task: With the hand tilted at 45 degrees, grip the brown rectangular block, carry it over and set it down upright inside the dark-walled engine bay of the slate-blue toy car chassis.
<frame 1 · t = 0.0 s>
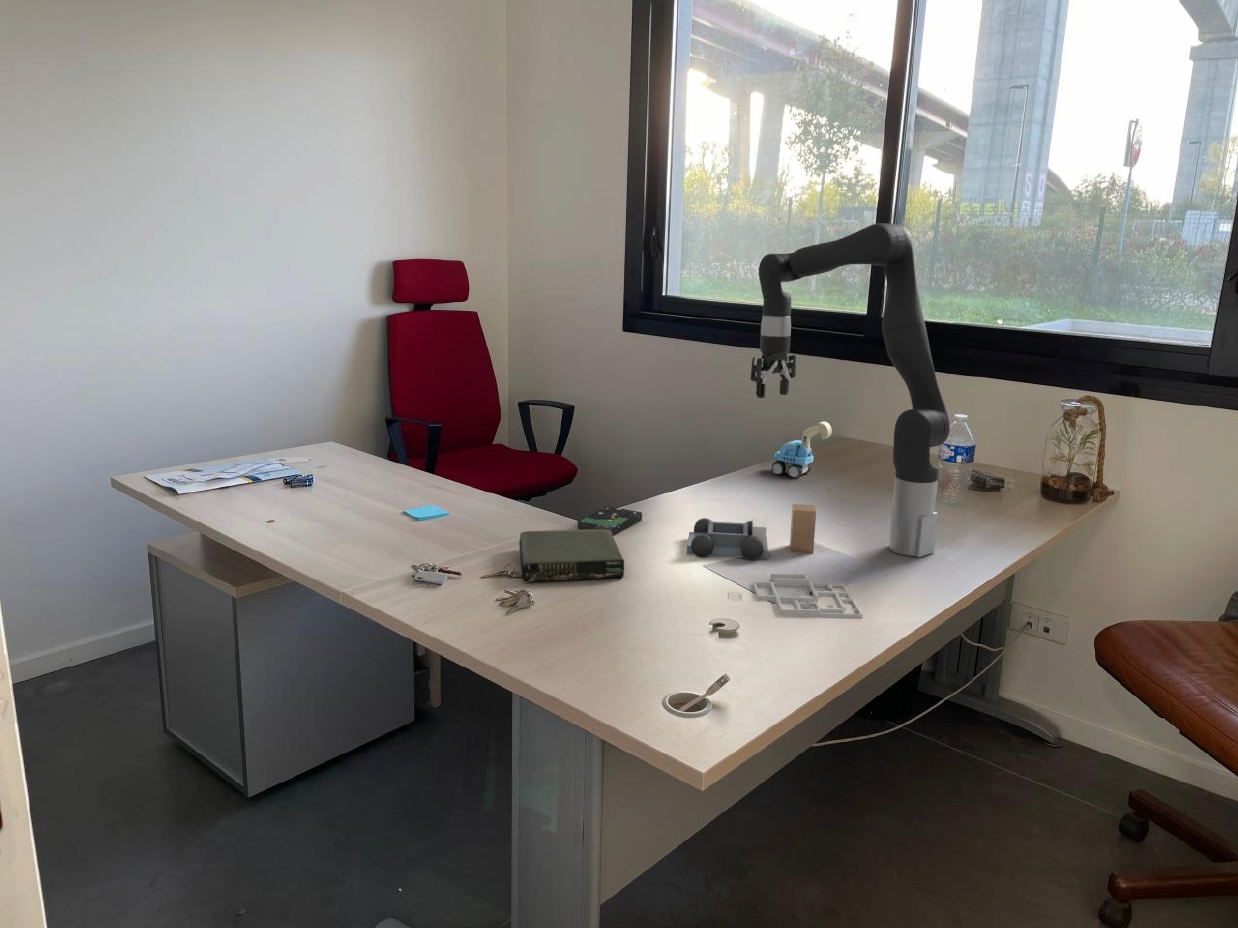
hand: (772, 396, 240), 29 cm above the table, tool pointing down, fingers open, 8 cm apart
chassis: (727, 548, 212), on the table
network switch: (569, 566, 201), on the table
brown rectangular block: (801, 549, 213), on the table
disk drive: (610, 527, 229), on the table
floor plan model: (788, 600, 185), on the table
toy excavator: (799, 476, 277), on the table
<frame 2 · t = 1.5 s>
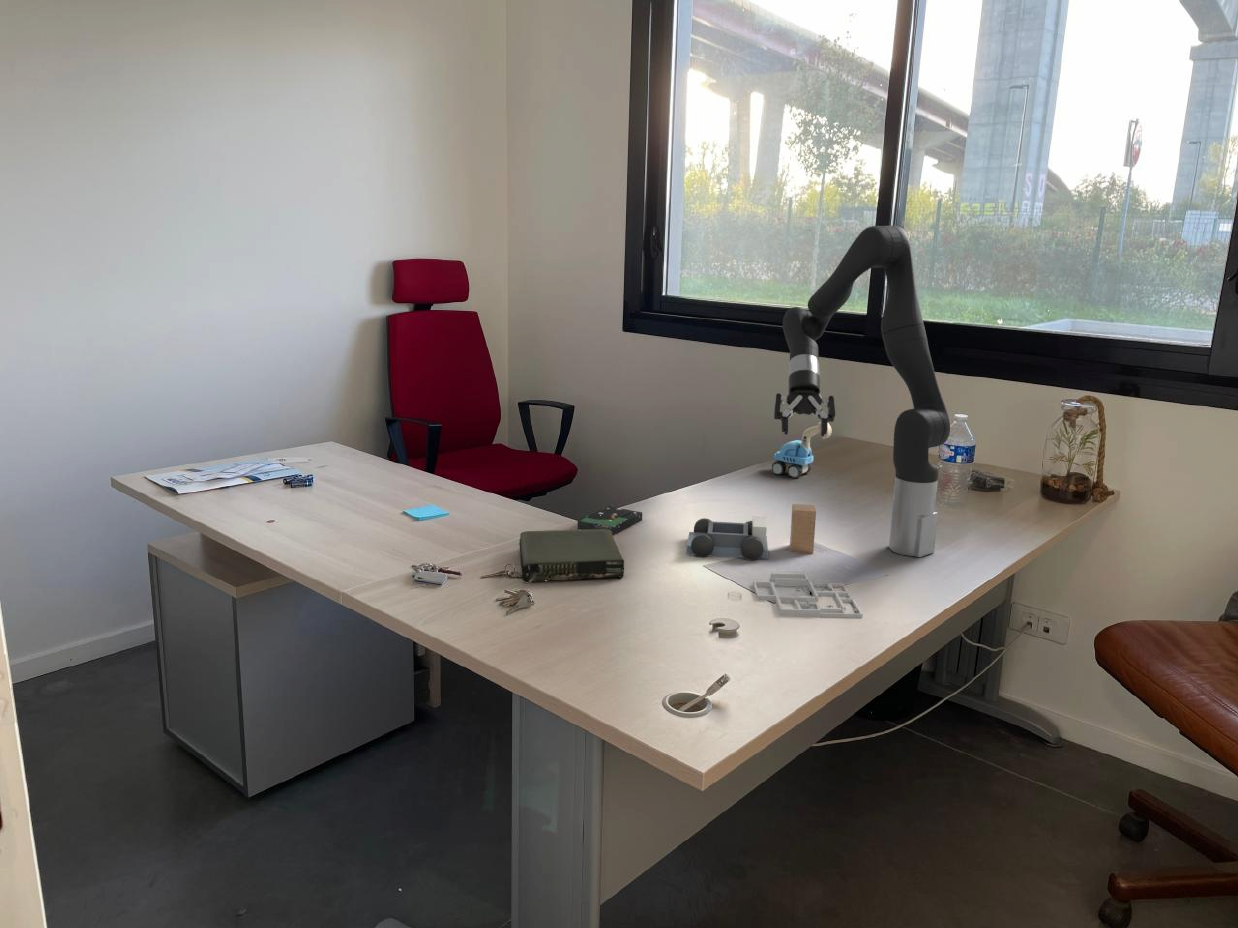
hand: (804, 433, 218), 25 cm above the table, tool tilted 45°, fingers open, 8 cm apart
nothing on the table moved.
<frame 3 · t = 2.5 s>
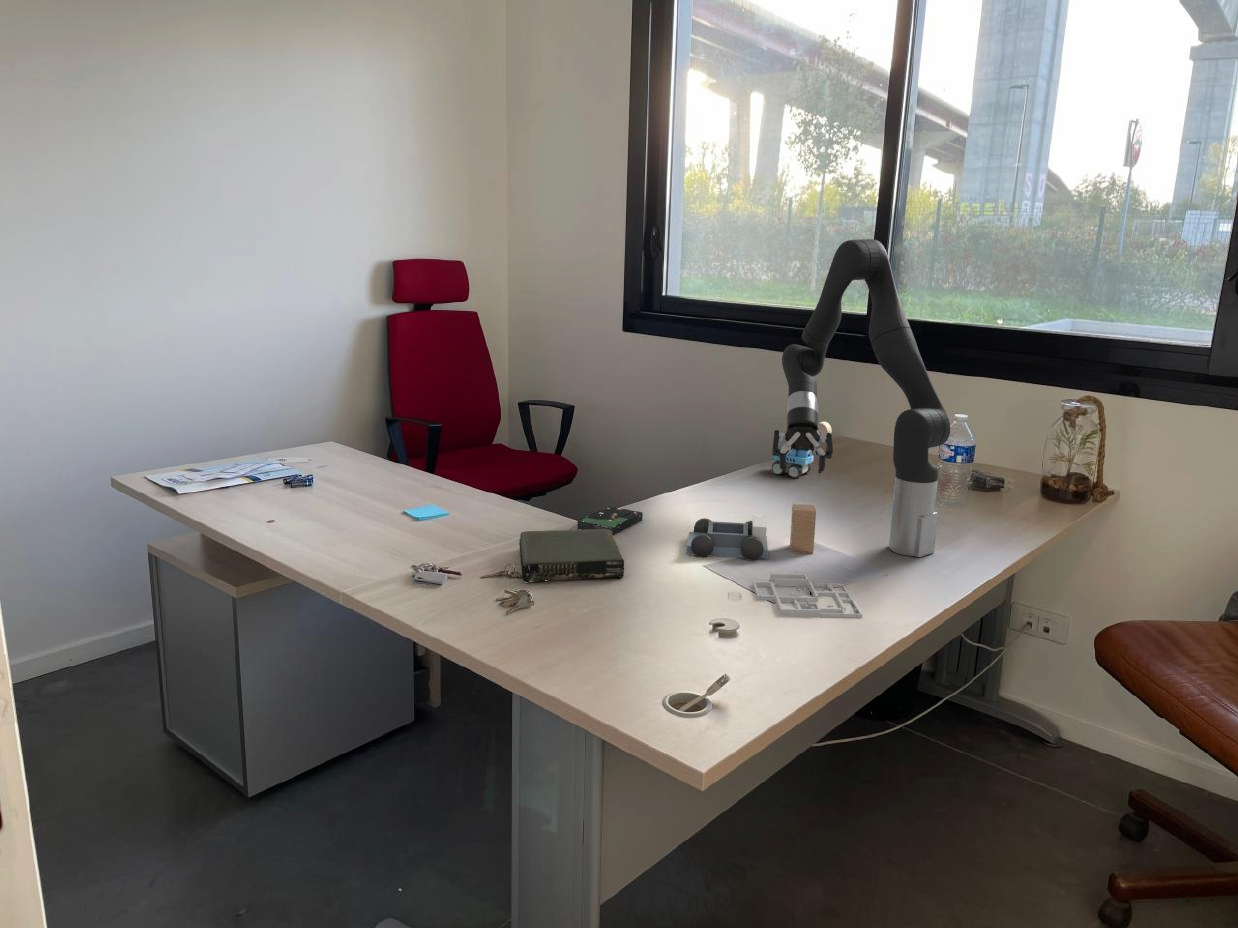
hand: (802, 470, 220), 16 cm above the table, tool tilted 45°, fingers open, 8 cm apart
nothing on the table moved.
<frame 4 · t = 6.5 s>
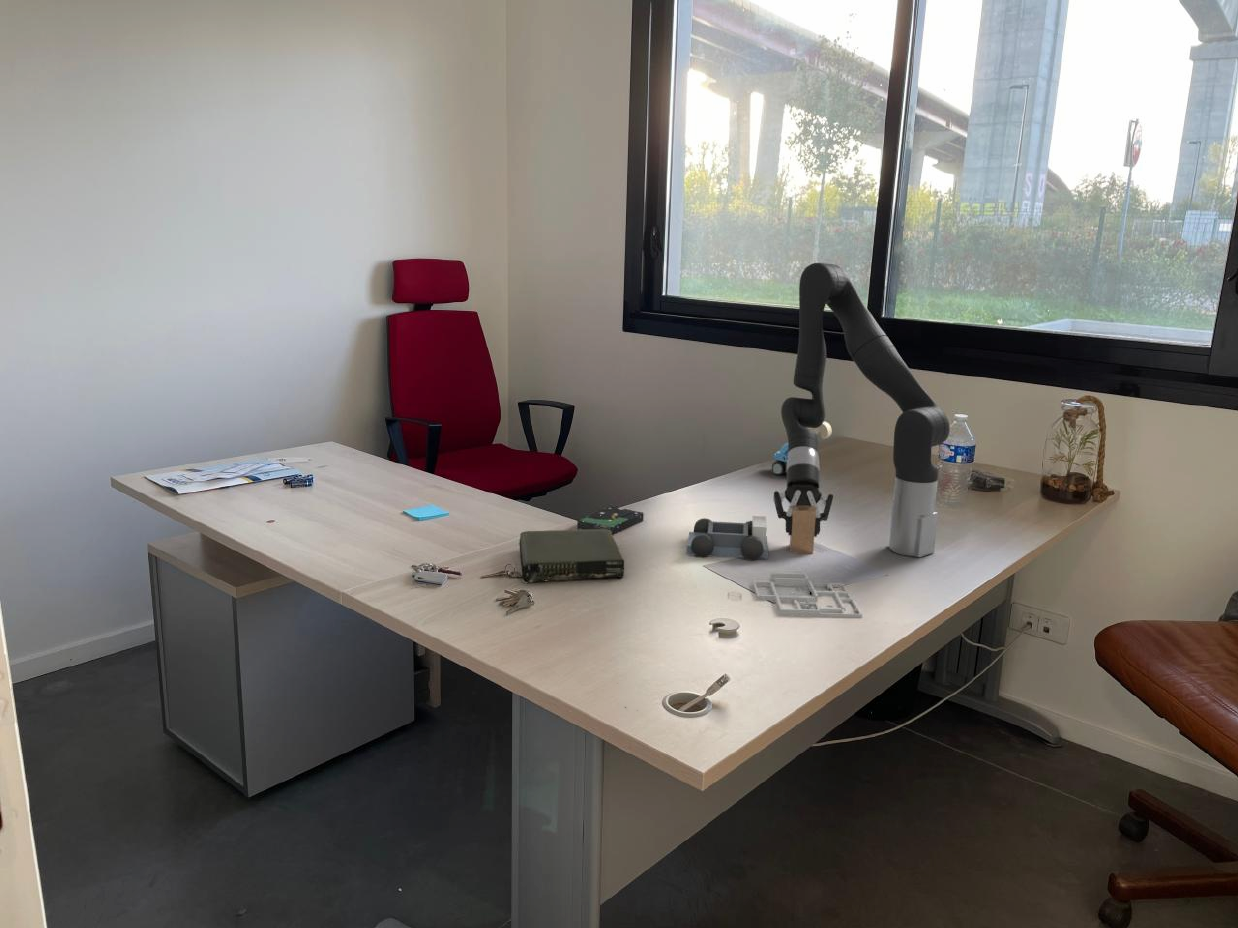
hand: (802, 534, 210), 4 cm above the table, tool tilted 45°, fingers closed on brown rectangular block, 5 cm apart
brown rectangular block: (801, 549, 213), on the table, touching gripper
everything else where it was.
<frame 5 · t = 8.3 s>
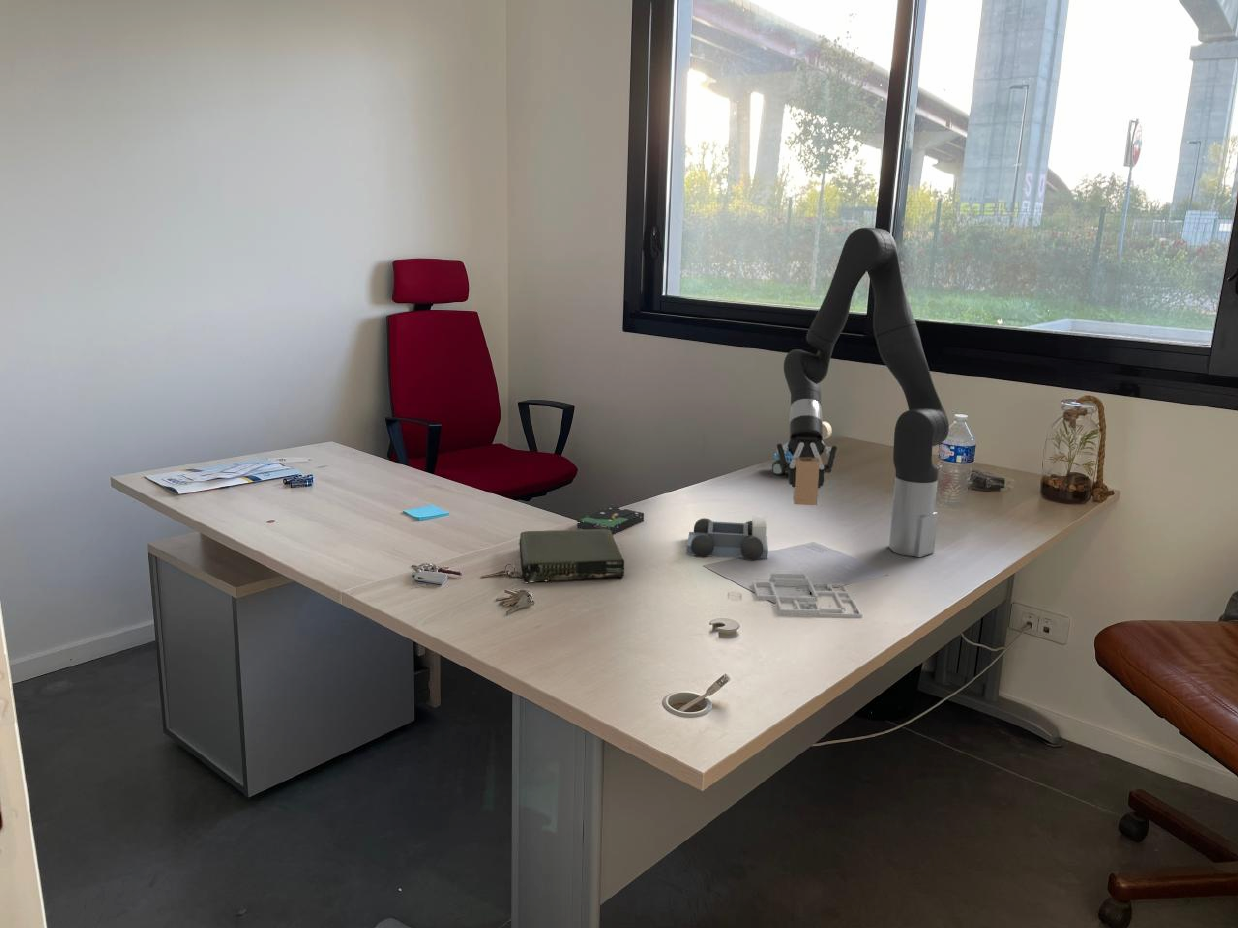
hand: (806, 485, 207), 16 cm above the table, tool tilted 45°, fingers closed on brown rectangular block, 5 cm apart
brown rectangular block: (805, 501, 210), point 11 cm above the table, touching gripper
everything else where it was.
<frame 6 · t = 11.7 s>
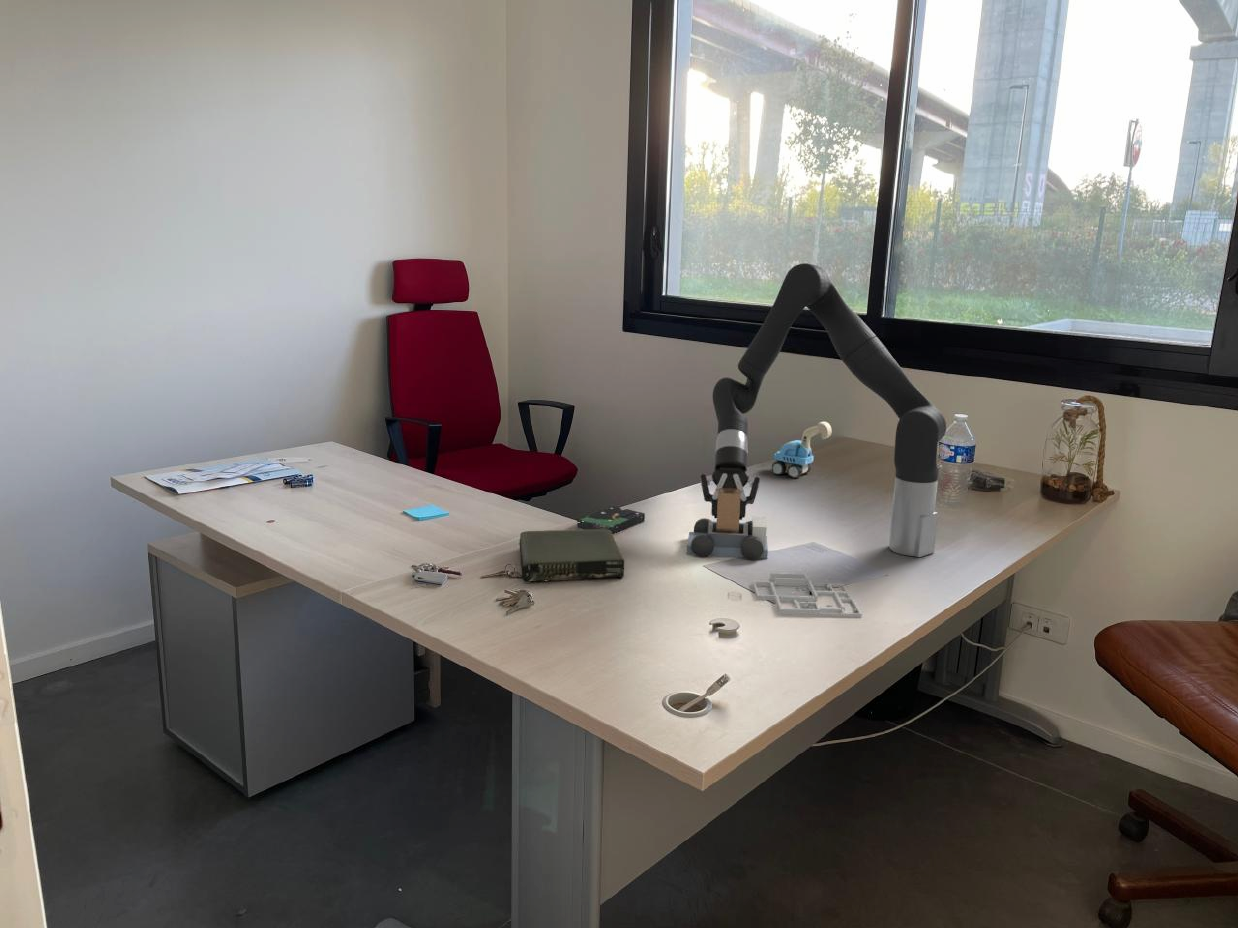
hand: (728, 517, 208), 8 cm above the table, tool tilted 45°, fingers closed on brown rectangular block, 5 cm apart
brown rectangular block: (727, 532, 211), point 4 cm above the table, touching gripper
everything else where it was.
when the fingers open (8 cm above the table, at t = 12.3 s): brown rectangular block drops 1 cm, resting on chassis.
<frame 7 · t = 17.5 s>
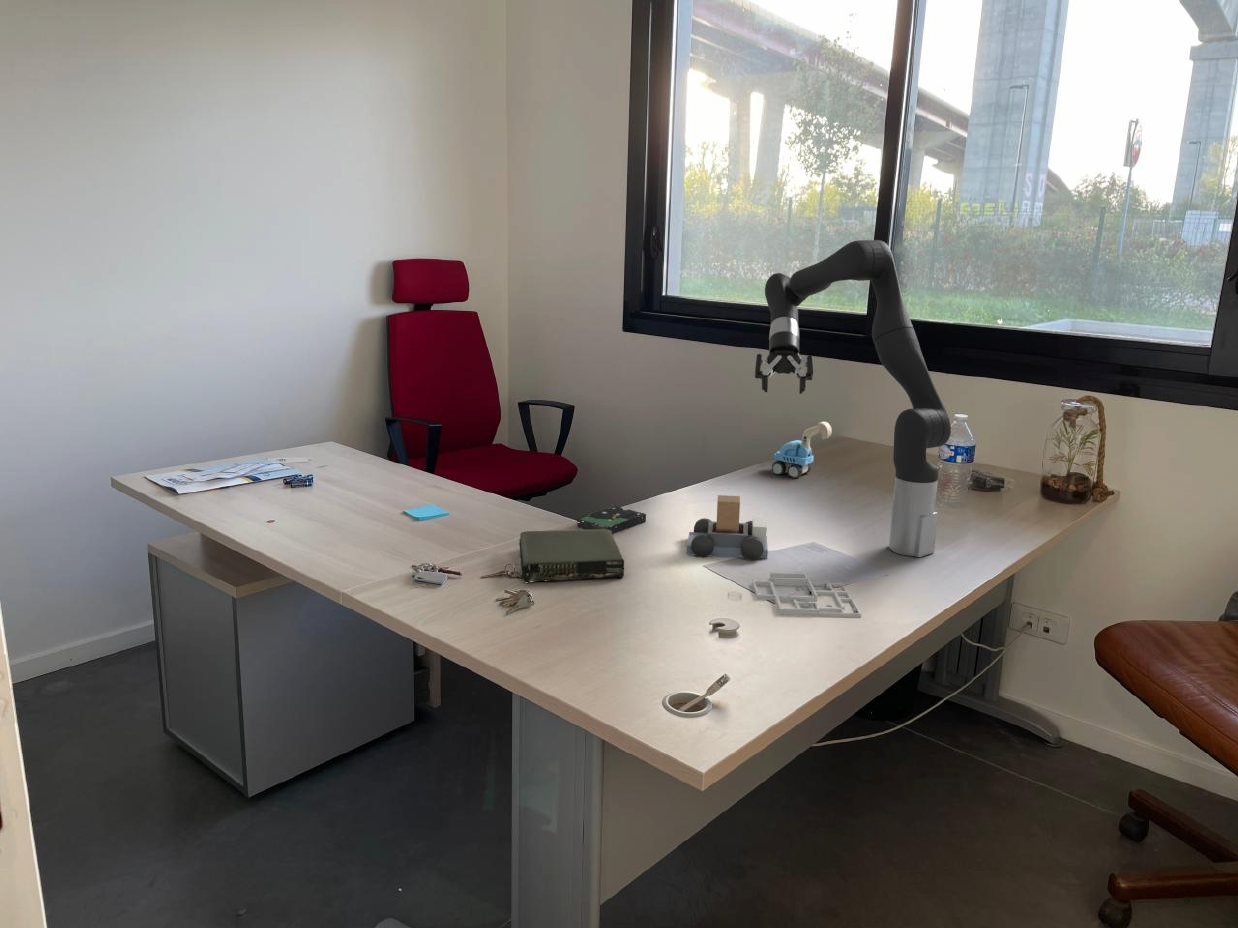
hand: (783, 391, 228), 33 cm above the table, tool tilted 45°, fingers open, 8 cm apart
brown rectangular block: (726, 540, 211), point 2 cm above the table, touching chassis
everything else where it was.
at the end: brown rectangular block 0.2 cm off-centre on the chassis, point 2.0 cm above the chassis's base; brown rectangular block tilted 0°; the gripper is holding nothing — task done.
